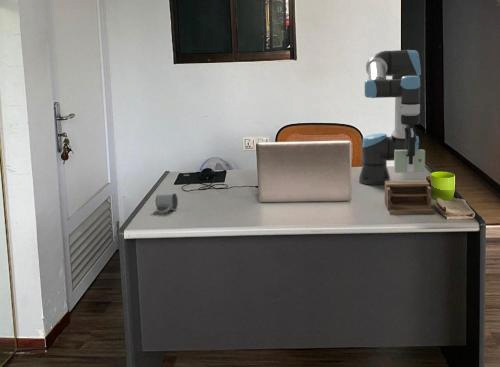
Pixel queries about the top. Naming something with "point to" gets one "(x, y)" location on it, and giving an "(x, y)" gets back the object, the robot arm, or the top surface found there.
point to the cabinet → (408, 197)
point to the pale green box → (401, 161)
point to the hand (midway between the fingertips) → (409, 170)
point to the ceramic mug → (166, 202)
